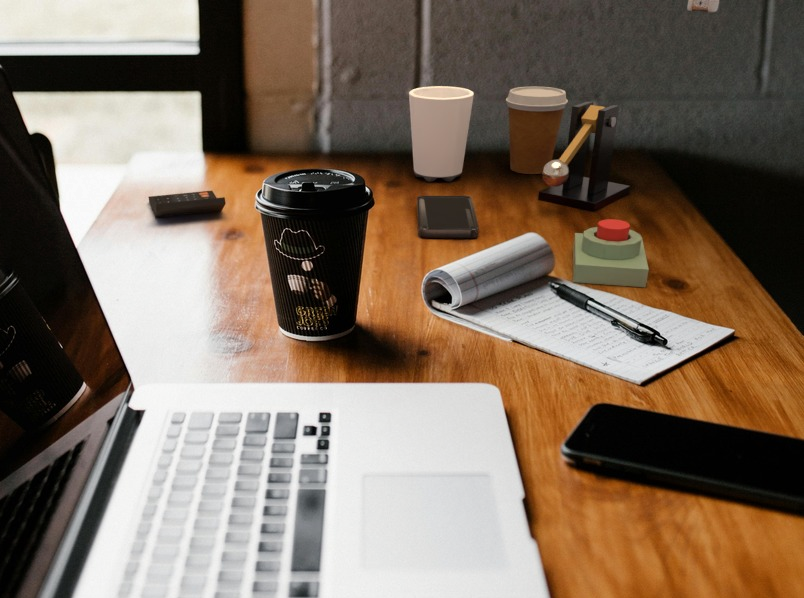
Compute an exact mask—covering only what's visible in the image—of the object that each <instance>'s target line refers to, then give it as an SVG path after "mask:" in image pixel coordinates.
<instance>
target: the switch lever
mask: <svg viewBox="0 0 804 598" xmlns="http://www.w3.org/2000/svg"><path fill="white" fill-rule="evenodd" d="M603 108H606V107H605V106H601V105H595V104H593V105H590V107H589V108H588V109H587V111H586V112H585V114H584V115H583V116H582V118H581V120H582V126H583V127H582V128H581V130H580V131H579V132H578V134H577V135H576V137H575V138H574V139H573V141H572V142H571V143H570V145H569V146H568V145H567V147H568V148H567V147H566V149H565V150H564V152H563V153H562V154H561V156H560V157H559V158H558V159H552V160H551V161H549V162H548V163H547V164H546V165H545V166H544V168H543V170H542V173H541V175H542V176H541V177H542V180H543V182H544V183H545V184H546V185H547V186H548V187H550V186H552V187H557V186H560V185H562V184H564V183H565V182H566V180H567V178H568V176H569V169H568V166H567V165H568V164H569V162H570V161H571V160H572V158H573V157H574V155H575V154H576V153H577V151H578V150H579V148H580V147H581V146H582V144H583V143H584V141H585V140H586V139H587V137H588V136H589V137H590V135H591V134H595V132H596V124H597V117H598V110H600V109H603Z"/></svg>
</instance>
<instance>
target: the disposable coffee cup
mask: <svg viewBox="0 0 804 598" xmlns="http://www.w3.org/2000/svg"><path fill="white" fill-rule="evenodd" d="M505 102H506V105H507V109H508V133H509V135H508V136H509V164H510V170H511V171H513V172H515V173H519V174H526V175H540V174H541V175H542V170H543V168H544V166H545V165H546V164H547V163H548V162H549V161H551V160H553V156H554V153H555V148H556V144H557V139H558V135H559V130H560V126H561V122H562V118H563V114H564V110H565V108H566V106H567V104H568V102H569V100H568V99H567V93H566V91H565V90H564V89H561V88H556V87H549V86H518V87H514V88H510V90H509V92H508V95H507V97H506V99H505Z"/></svg>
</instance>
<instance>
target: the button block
mask: <svg viewBox="0 0 804 598" xmlns="http://www.w3.org/2000/svg"><path fill="white" fill-rule="evenodd" d="M597 227H598V226H595V227H590V228H587V229H585V230H583V232H582V233H581V232H575V233H574V237H573V246H572V283H577V284H593V285H605V286H606V285H607V286H618V287H619V286H620V287H633V288H646V287H647V281H648V278H649V277H648V275H649V271H650V268H649V263H648V259H647V255H646V250H645V244H644V240H643V237H642V235H641V233H639V232H636V231H635V230H633V229H629V235H628V240H627V241H619V242H615V241H606V240H602V239H598V238H597V237H596V234H597Z"/></svg>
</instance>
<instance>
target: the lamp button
mask: <svg viewBox="0 0 804 598" xmlns="http://www.w3.org/2000/svg"><path fill="white" fill-rule="evenodd" d="M596 227H597V234H596V237H597V238H598V239H602V240H606V241H615V242H619V241H627V240H628V235H629V230H631V229H630V228H631V224H630V223H629V222H628V221H624V220H621V219H614V218H608V219H607V218H606V219H602V220H599V221H598V222H597V226H596Z"/></svg>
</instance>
